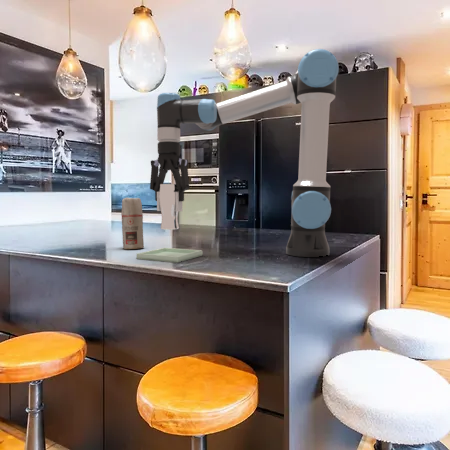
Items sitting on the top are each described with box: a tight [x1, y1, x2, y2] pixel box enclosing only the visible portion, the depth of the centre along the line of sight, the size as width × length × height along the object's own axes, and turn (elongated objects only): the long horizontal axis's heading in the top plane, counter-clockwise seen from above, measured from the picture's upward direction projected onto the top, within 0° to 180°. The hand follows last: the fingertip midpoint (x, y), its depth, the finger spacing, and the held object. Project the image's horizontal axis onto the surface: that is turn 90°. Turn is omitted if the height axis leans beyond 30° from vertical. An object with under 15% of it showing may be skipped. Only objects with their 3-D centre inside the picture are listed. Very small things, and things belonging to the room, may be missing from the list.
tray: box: [136, 247, 204, 264], centre depth 139 cm, size 16×16×2 cm
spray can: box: [121, 197, 145, 250], centre depth 159 cm, size 8×8×20 cm
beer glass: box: [159, 183, 180, 231], centre depth 137 cm, size 7×7×15 cm
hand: (169, 211), depth 137 cm, fingers closed on beer glass, 7 cm apart
